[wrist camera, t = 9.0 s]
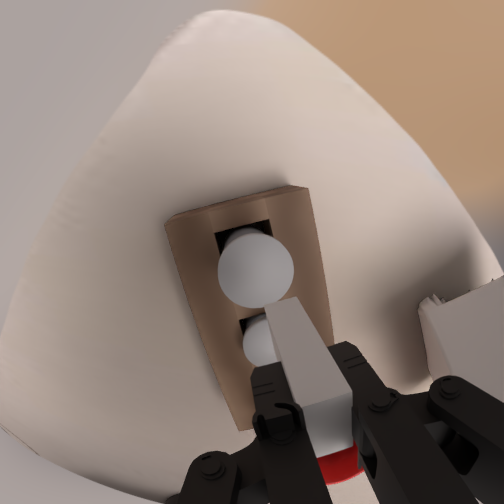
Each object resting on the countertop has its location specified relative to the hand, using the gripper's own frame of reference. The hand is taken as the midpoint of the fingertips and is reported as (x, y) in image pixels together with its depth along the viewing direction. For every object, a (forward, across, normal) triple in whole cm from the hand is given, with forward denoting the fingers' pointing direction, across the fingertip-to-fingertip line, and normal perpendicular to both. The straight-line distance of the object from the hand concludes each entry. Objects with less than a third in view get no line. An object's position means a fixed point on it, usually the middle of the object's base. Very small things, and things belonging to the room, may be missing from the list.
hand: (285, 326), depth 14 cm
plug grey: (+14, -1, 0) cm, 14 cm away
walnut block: (+18, 0, -8) cm, 20 cm away
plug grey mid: (+18, 0, -8) cm, 19 cm away
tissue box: (+18, +25, -19) cm, 36 cm away
